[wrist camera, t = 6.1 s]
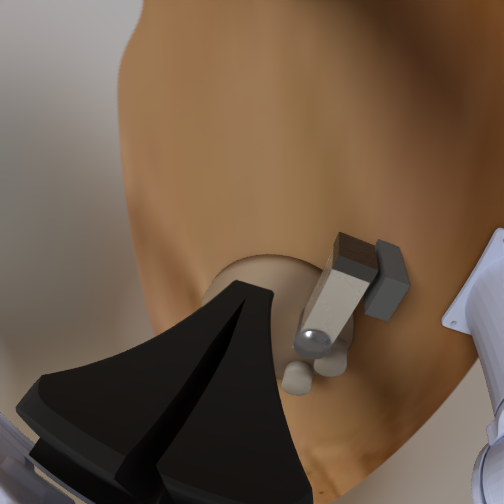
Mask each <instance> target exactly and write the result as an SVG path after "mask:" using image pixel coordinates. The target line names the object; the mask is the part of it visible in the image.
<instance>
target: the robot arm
mask: <svg viewBox="0 0 504 504" xmlns="http://www.w3.org/2000/svg"><path fill="white" fill-rule="evenodd" d="M503 239H504V229H503V228H498V229H496V230H495V232H494V233H493V235H492V237H491V239H490V241H489V243H488V245H487V247H486V249H485V250H484V252H483V254H482V256H481V258H480V259H479V261H478V263H477V265H476V266H475V268H474V270H473V271H472V273H471V275H470V276H469V278H468V279H467V281H466V283H465V284H464V286H463V287H462V289H461V291H460V292H459V294H458V295H457V297H456V298H455V300H454V301H453V303H452V304H451V306H450V307H449V308H448V310H447V311H446V313H445V314H444V316H443V317H442V319H441V322H442V325H443V326H444V327H447V328H451V329H454V330H457V331H460V332H463V333H466V334H469V335H472V337H473V340H474V343H475V346H476V349H477V352H478V355H479V359H480V362H481V365H482V368H483V372H484V375H485V379H486V383H487V386H488V390H489V394H490V398H491V402H492V407H493V411H494V416H495V419H494V420H493V422H492V423H491V424H490V425H488V426H487V428H486V430H487V436H488V444H486V445H485V446H484V448H483V449H482V450H481V451H480V453H479V455H478V457H477V459H476V462H475V464H474V469H473V474H472V485H471V487H472V488H471V490H472V499H473V503H474V504H504V241H503ZM273 298H274V293H273V291H272V290H269V289H266V288H263V287H259V286H256V285H253V284H249V283H246V282H243V281H239V280H234V281H232V282H231V283H230V284H229V285H228V286H227V287H226V288H225V289H224V290H222V291H221V292H220V293H219V294H218V295H216V296H215V297H214V298H213V299H211V300H210V301H209V302H208V303H206V304H205V305H204V306H202V307H201V308H200V309H198V310H197V311H196V312H194V313H193V314H191V315H190V316H188V317H187V318H185V319H184V320H182V321H181V322H179V323H178V324H176V325H175V326H173V327H172V328H170V329H168V330H167V331H165V332H163V333H161V334H160V335H158V336H156V337H154V338H152V339H150V340H148V341H147V342H144V343H142V344H140V345H138V346H136V347H134V348H132V349H129V350H127V351H125V352H122V353H120V354H118V355H115V356H113V357H109V358H107V359H104V360H100V361H97V362H94V363H91V364H89V365H86V366H82V367H78V368H74V369H69V370H65V371H60V372H56V373H51V374H45V375H42V376H41V377H40V378H39V379H38V380H37V381H36V382H35V383H34V384H33V386H32V387H31V388H30V389H29V391H28V392H27V393H26V394H25V396H24V397H23V398H22V399H21V401H20V402H19V403H18V405H17V406H16V412H17V413H18V414H19V416H20V417H21V418H22V419H23V420H24V421H25V422H26V423H27V424H28V425H29V427H30V428H31V429H32V430H34V432H35V433H36V434H37V435H38V436H39V437H40V438H39V440H38V441H37V443H36V444H35V443H33V442H32V441H31V440H30V439H29V438H28V437H26V436H25V435H24V434H23V433H22V432H21V431H20V430H19V429H18V428H16V427H15V426H14V425H13V424H12V423H11V422H10V421H9V420H8V419H7V418H6V417H5V416H4V415H3V414H2V413H1V412H0V504H75V502H74V500H72V499H71V498H70V497H69V496H68V495H66V494H65V493H64V492H62V491H61V490H60V489H58V488H57V487H56V486H54V485H53V484H51V483H50V482H48V481H47V480H45V479H44V478H43V477H41V476H40V475H38V474H37V473H35V471H34V465H35V466H36V467H37V468H39V469H40V470H41V471H42V472H44V473H45V474H46V475H47V476H49V477H50V478H51V479H53V480H54V481H55V482H57V483H58V484H59V485H60V486H62V487H63V488H65V489H66V490H67V491H69V492H70V493H72V494H74V495H75V496H76V497H78V498H79V499H81V500H82V501H84V502H85V503H87V504H313V493H312V487H311V485H310V482H309V480H308V478H307V476H306V474H305V471H304V469H303V467H302V464H301V462H300V459H299V457H298V454H297V451H296V449H295V446H294V443H293V441H292V438H291V434H290V431H289V428H288V425H287V421H286V418H285V415H284V411H283V408H282V404H281V399H280V395H279V391H278V386H277V381H276V375H275V369H274V362H273V354H272V342H271V308H272V302H273ZM452 321H454V322H453V323H451V322H452Z"/></svg>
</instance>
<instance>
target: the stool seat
mask: <svg viewBox="0 0 504 504" xmlns="http://www.w3.org/2000/svg"><path fill="white" fill-rule="evenodd" d="M322 271H323V270H322V269H320V268H318V267H316V266H314V265H312V264H310V263H308V262H305V261H303V260H300V259H296V258H293V257H289V256H283V255H270V254H266V255H255V256H250V257H246V258H243V259H240V260H237V261H235V262H233V263H232V264H230V265H228V266H227V267H225V268H224V269H223V270H222V271H221V272H220V273H219V274H218V275H217V276H216V277H215V279H214V280H213V282H212V283H211V285H210V286H209V288H208V289H207V291H206V293H205V295H204V297H203V301H202V306H204V305H205V304H206V303H208V302H209V301H210V300H211V299H213V298H214V297H215V296H216V295H218V294H219V293H220V292H221V291H222V290H224V289H225V288H226V287H227V286H228V285H229V284H230V283H231V282H232V281H234V280H239V281H243V282H246V283H249V284H253V285H256V286H259V287H263V288H266V289H269V290H272V291H273V293H274V298H273V302H272V308H271V342H272V354H273V362H274V369H275V375H276V378H280V379H283V381H282V384H281V387H282V389H283V390H284V391H285V392H287V393H289V394H291V395H296V396H301V395H305V394H307V393H309V392H310V390H311V384H312V379H313V376H315V375H318V374H320V375H323V376H327V377H335V376H338V375H341V374H342V373H344V372H345V370H346V365H347V352H348V350H349V348H350V346H351V343H352V339H353V330H354V317H353V313H352V314H351V316H350V317H349V319H348V321H347V322H346V324H345V325H344V327H343V328H342V330H341V332H340V333H339V335H338V336H337V338H336V339H335V341H334V342H333V344H332V346H331V351H330V353H329V354H328V355H327V356H326V357H324V358H321V359H316V360H312V359H306V358H304V357H301V356H300V355H298V354H297V353H296V351H295V350H294V348H292V346H293V342H294V337H295V333H296V329H297V325H298V321H299V318H300V314H301V311H302V310H303V309H304V308H305V307H306V305H307V303H308V301H309V299H310V297H311V294H312V292H313V290H314V288H315V286H316V284H317V282H318V280H319V278H320V276H321V273H322ZM202 306H201V307H202Z"/></svg>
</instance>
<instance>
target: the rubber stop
mask: <svg viewBox="0 0 504 504" xmlns="http://www.w3.org/2000/svg"><path fill="white" fill-rule="evenodd" d="M375 252H376V257H377V263H378V270H379V271H378V273H377V274H376V276H375V278H374V280H373V281H372V283H370V284H369V286H368V287H367V289H366V291H365V293H364V310H365V315H368V316H371V317H374V318H377V319H381V320H384V321H387V322H388V320H389V319H390V317H391V316H392V314H393V313H394V311H395V309H396V308H397V306H398V305H399V303H400V302H401V300H402V298H403V297H404V295H405V293H406V292H407V290H408V288H409V287H410V283H409V279H408V276H407V272H406V269H405V265H404V262H403V259H402V255H401V252H400V249H399V247H398V246H395V245H393V244H390V243H387V242H385V241H382V240H379V239H378V241H377V244H376V246H375Z"/></svg>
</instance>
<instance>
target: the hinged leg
mask: <svg viewBox="0 0 504 504" xmlns="http://www.w3.org/2000/svg"><path fill="white" fill-rule="evenodd" d="M378 271H379V270H378V263H377V257H376V252H375V246H374V245H372V244H369V243H367V242H364V241H362V240H359V239H357V238H354V237H352V236H349V235H346V234H344V233H341V232H339V233H338V236H337V238H336V240H335V242H334V247H333V250H332V252H331V254H330V256H329V258H328V261H327V263H326V265H325V267H324V269H323V271H322V273H321V276H320V278H319V280H318V282H317V284H316V286H315V288H314V290H313V292H312V294H311V297H310V299H309V301H308V303H307V305H306V307H305V308H304V309H303V310H302V311H301V314H300V318H299V321H298V325H297V329H296V333H295V337H294V342H293V346H292V348H294V350H295V351H296V353H297V354H298V355H300V356H301V357H304V358H306V359H312V360H316V359H321V358H324V357H326V356H327V355H328V354H329V353H330V351H331V346H332V344H333V342H334V341H335V339H336V338H337V336H338V335H339V333H340V332H341V330H342V328H343V327H344V325H345V324H346V322H347V321H348V319H349V317H350V316H351V314H352V313H353V311H354V309H355V308H356V306H357V304H358V303H359V301H360V299H361V298H362V296H363V294H364V293H365V291H366V289H367V287H368V286H369V284H370V283H372V281H373V280H374V278H375V276H376V274H377V273H378Z"/></svg>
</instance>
